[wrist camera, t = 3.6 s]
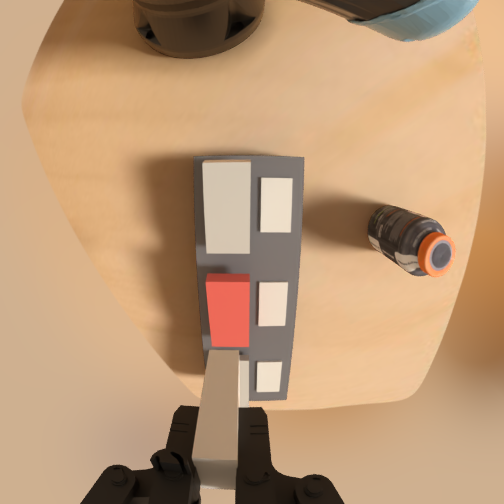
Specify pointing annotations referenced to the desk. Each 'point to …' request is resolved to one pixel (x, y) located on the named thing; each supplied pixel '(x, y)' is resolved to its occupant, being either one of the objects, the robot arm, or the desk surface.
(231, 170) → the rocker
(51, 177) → the desk surface
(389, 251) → the pill bottle
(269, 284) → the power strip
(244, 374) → the block
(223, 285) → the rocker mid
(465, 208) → the desk surface
